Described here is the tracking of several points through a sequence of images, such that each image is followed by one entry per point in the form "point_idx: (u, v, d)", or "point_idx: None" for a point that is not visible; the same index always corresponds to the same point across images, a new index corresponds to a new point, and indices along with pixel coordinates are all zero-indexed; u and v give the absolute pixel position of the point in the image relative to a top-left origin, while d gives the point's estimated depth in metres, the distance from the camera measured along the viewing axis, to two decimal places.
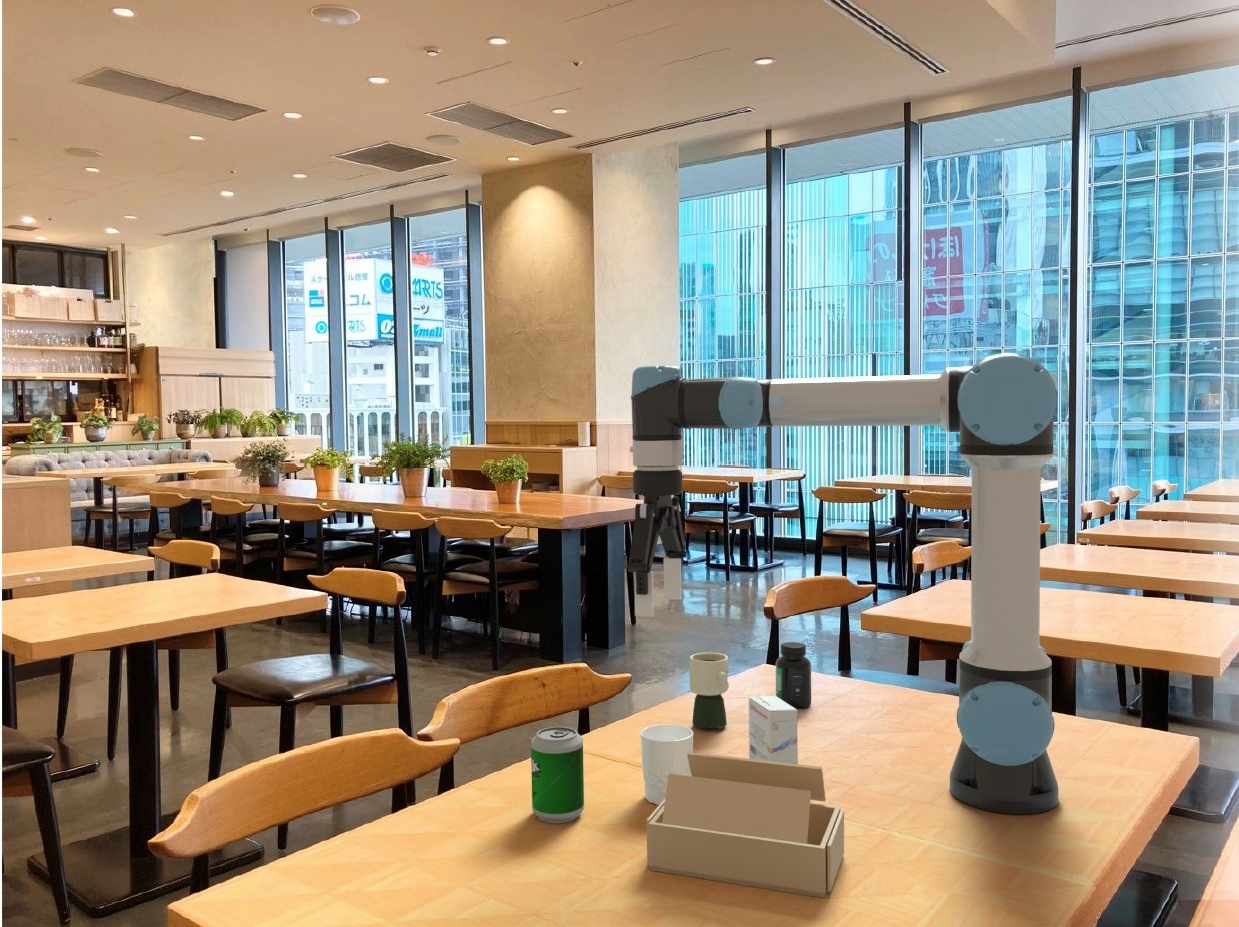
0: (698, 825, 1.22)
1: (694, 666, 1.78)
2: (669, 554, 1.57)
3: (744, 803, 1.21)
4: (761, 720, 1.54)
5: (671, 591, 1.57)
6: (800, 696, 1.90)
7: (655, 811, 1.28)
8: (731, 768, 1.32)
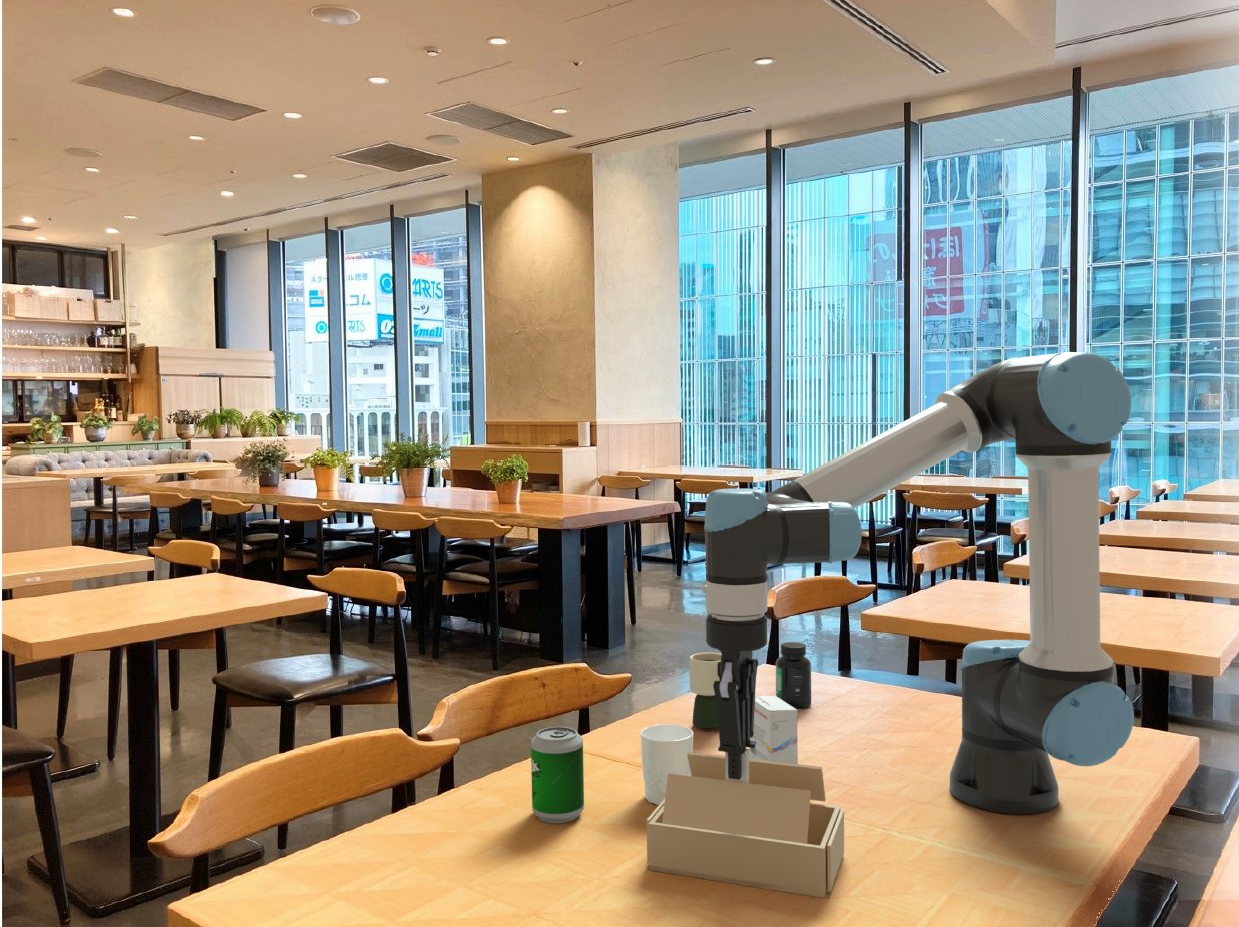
0: (698, 825, 1.22)
1: (694, 666, 1.78)
2: None
3: (744, 803, 1.21)
4: (761, 720, 1.54)
5: None
6: (800, 696, 1.90)
7: (655, 811, 1.28)
8: None
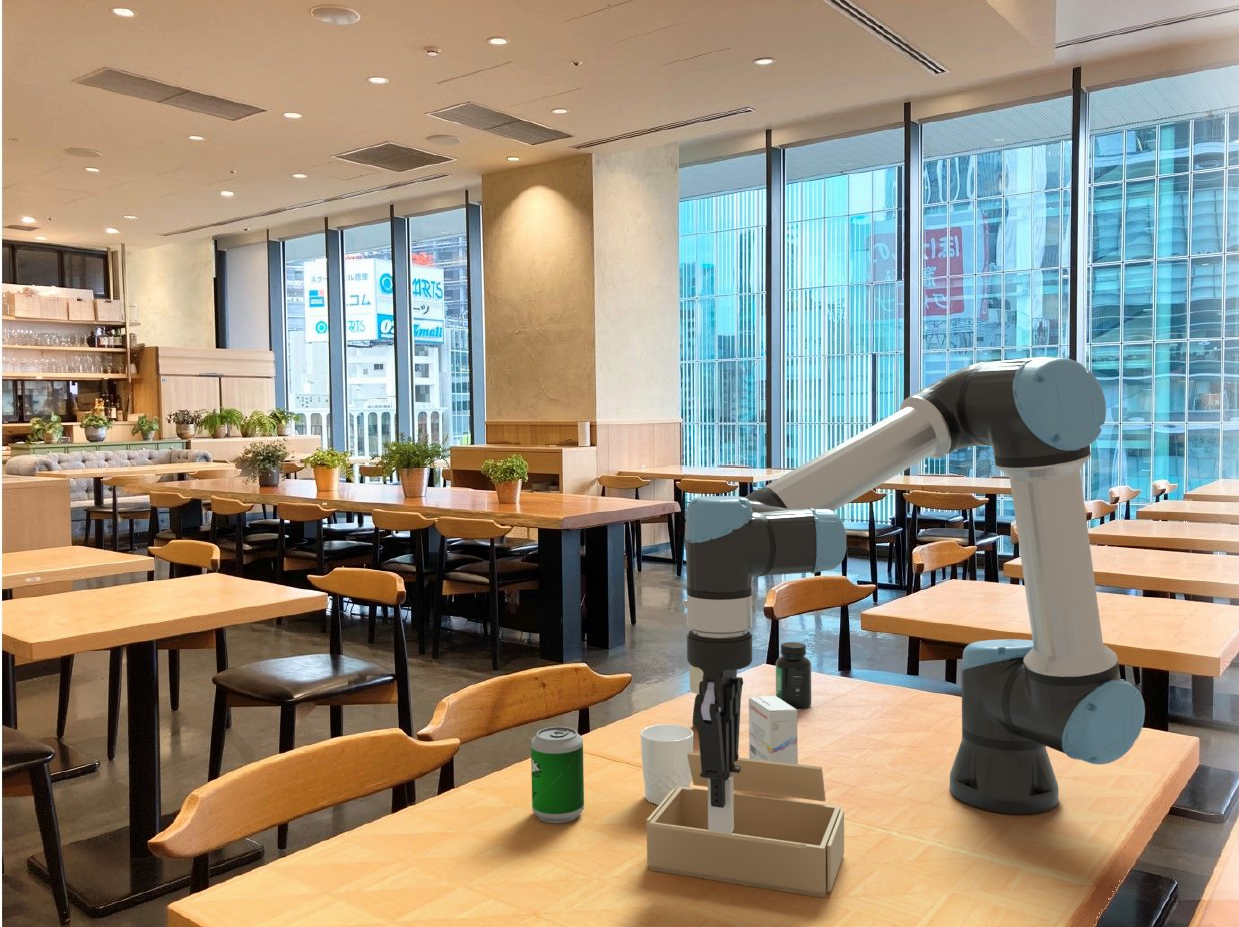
0: None
1: None
2: None
3: None
4: (761, 720, 1.54)
5: None
6: (800, 696, 1.90)
7: (655, 811, 1.28)
8: None
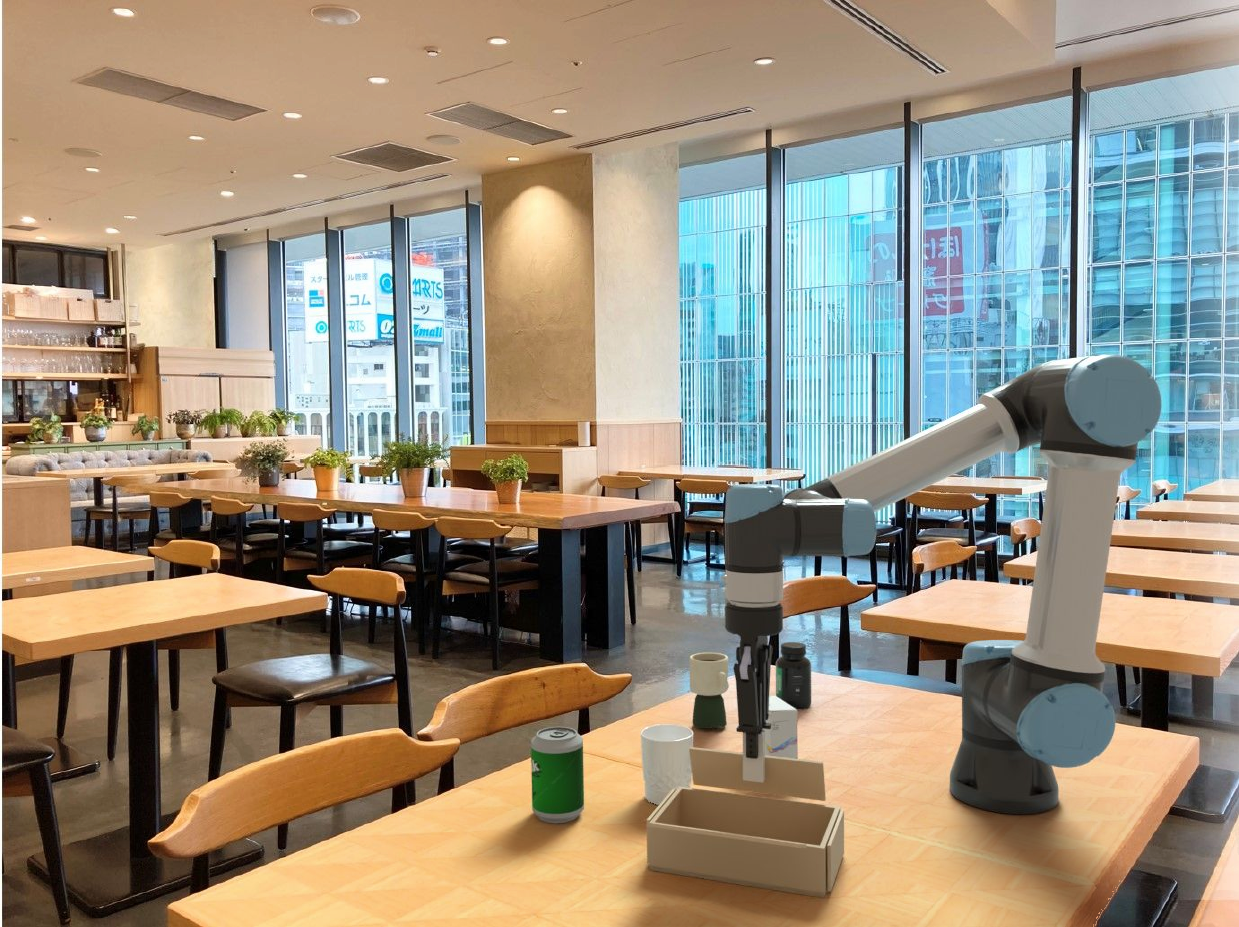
0: None
1: (694, 666, 1.78)
2: None
3: None
4: None
5: None
6: (800, 696, 1.90)
7: (655, 811, 1.28)
8: (732, 764, 1.32)
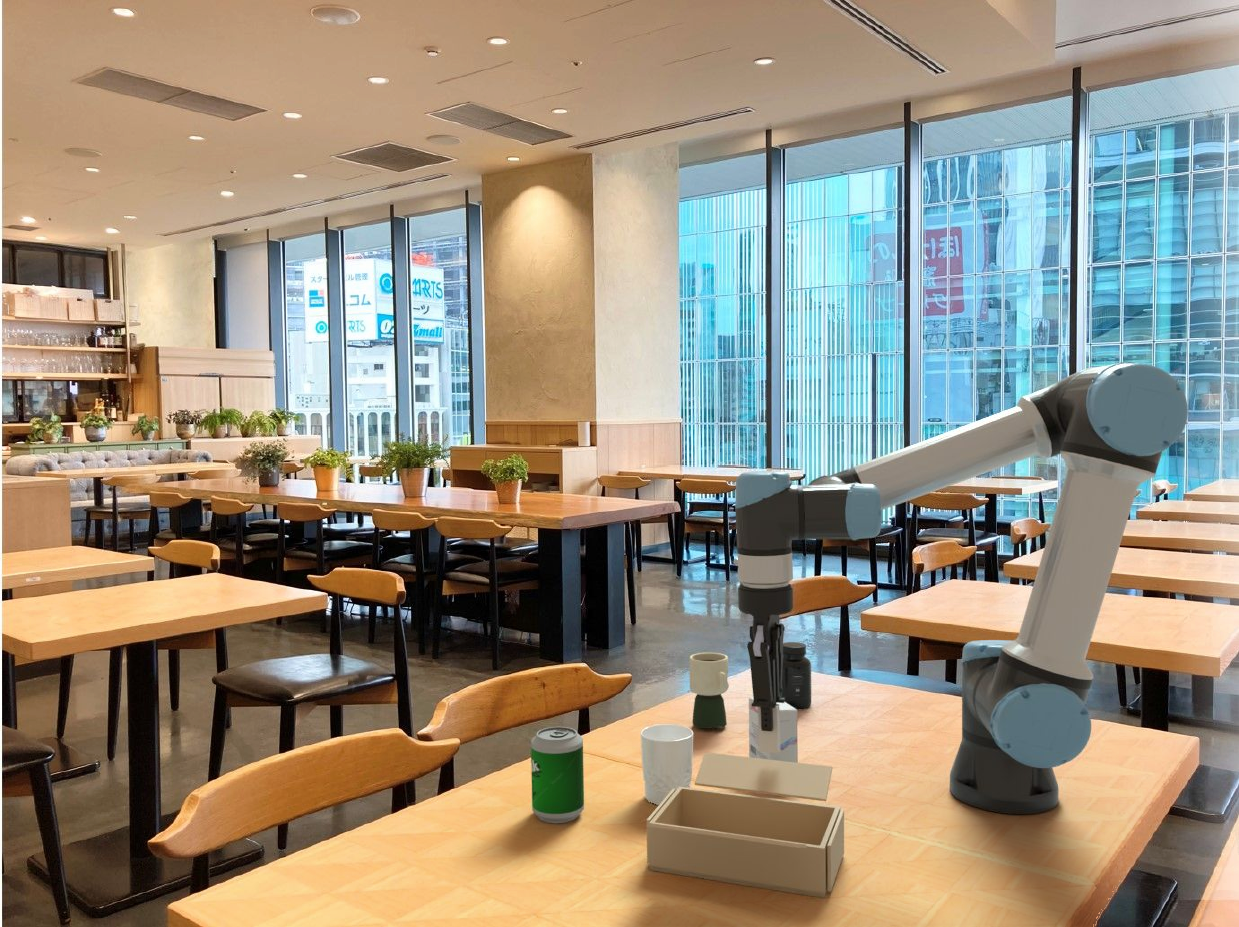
0: None
1: (694, 666, 1.78)
2: None
3: None
4: None
5: None
6: (800, 696, 1.90)
7: (655, 811, 1.28)
8: (743, 765, 1.38)
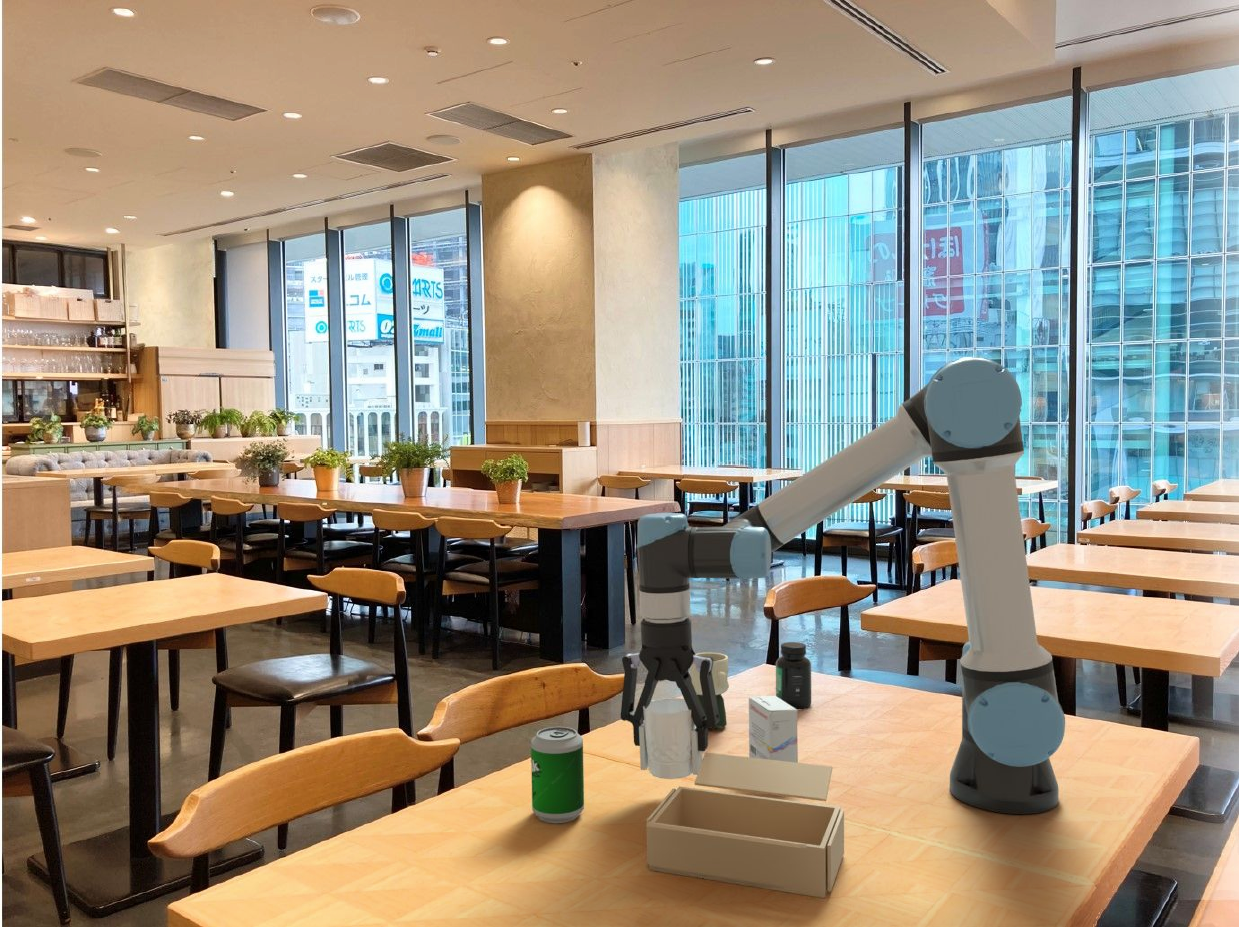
0: None
1: (694, 666, 1.78)
2: None
3: None
4: (761, 720, 1.54)
5: None
6: (800, 696, 1.90)
7: (655, 811, 1.28)
8: (743, 765, 1.38)
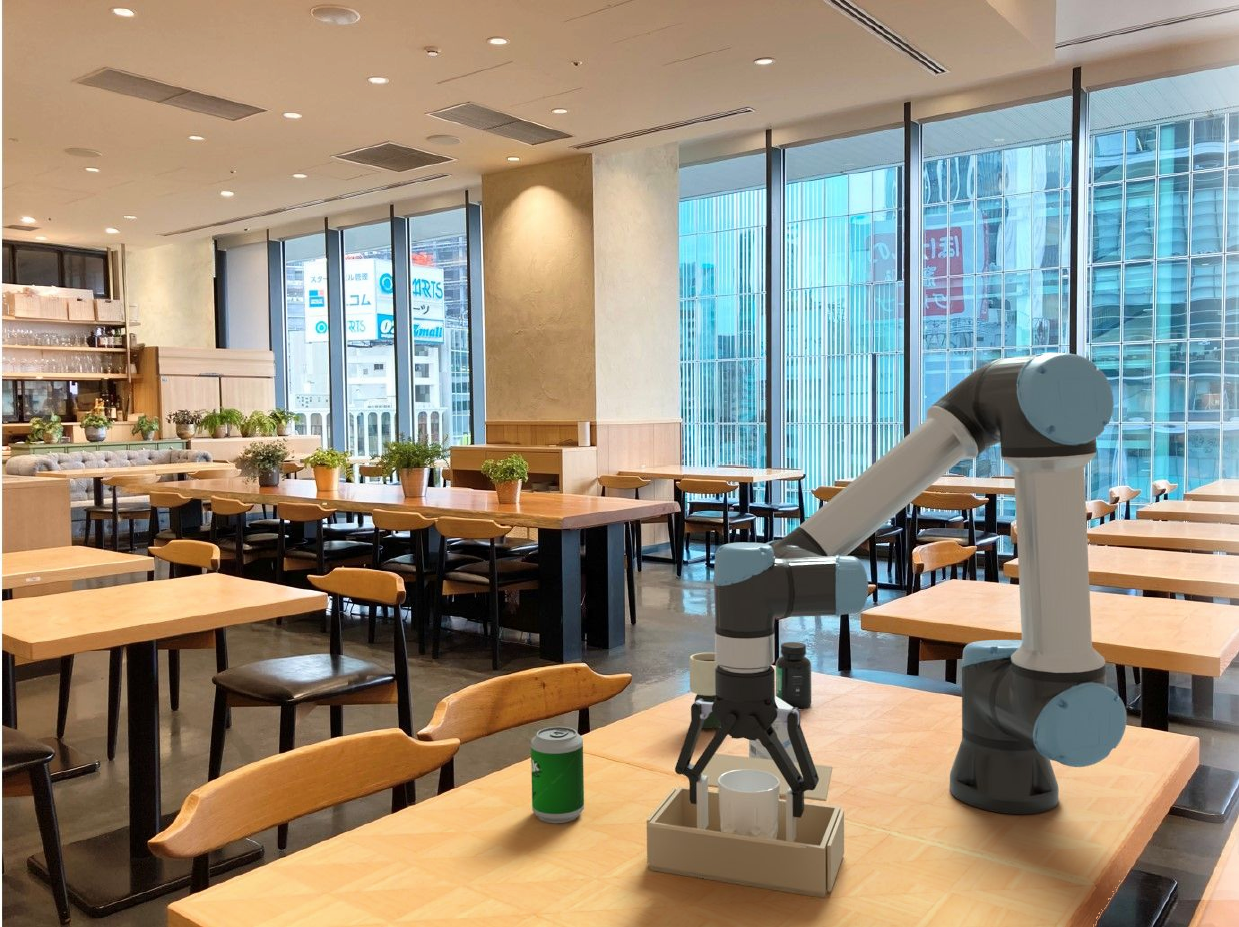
0: None
1: (694, 666, 1.78)
2: None
3: None
4: None
5: None
6: (800, 696, 1.90)
7: (655, 811, 1.28)
8: (743, 765, 1.38)
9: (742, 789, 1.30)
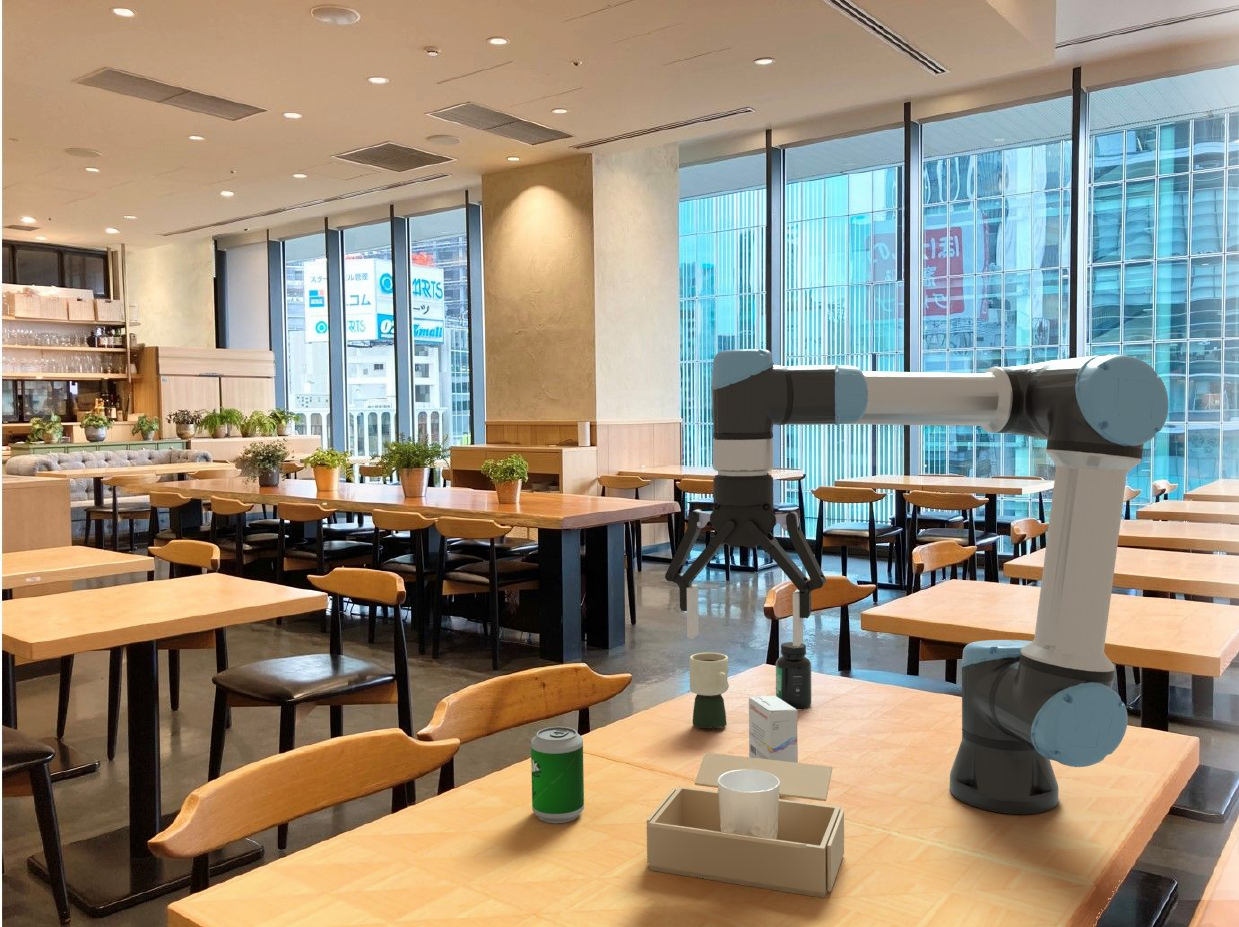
0: None
1: (694, 666, 1.78)
2: None
3: None
4: (761, 720, 1.54)
5: None
6: (800, 696, 1.90)
7: (655, 811, 1.28)
8: (743, 765, 1.38)
9: (742, 789, 1.30)
